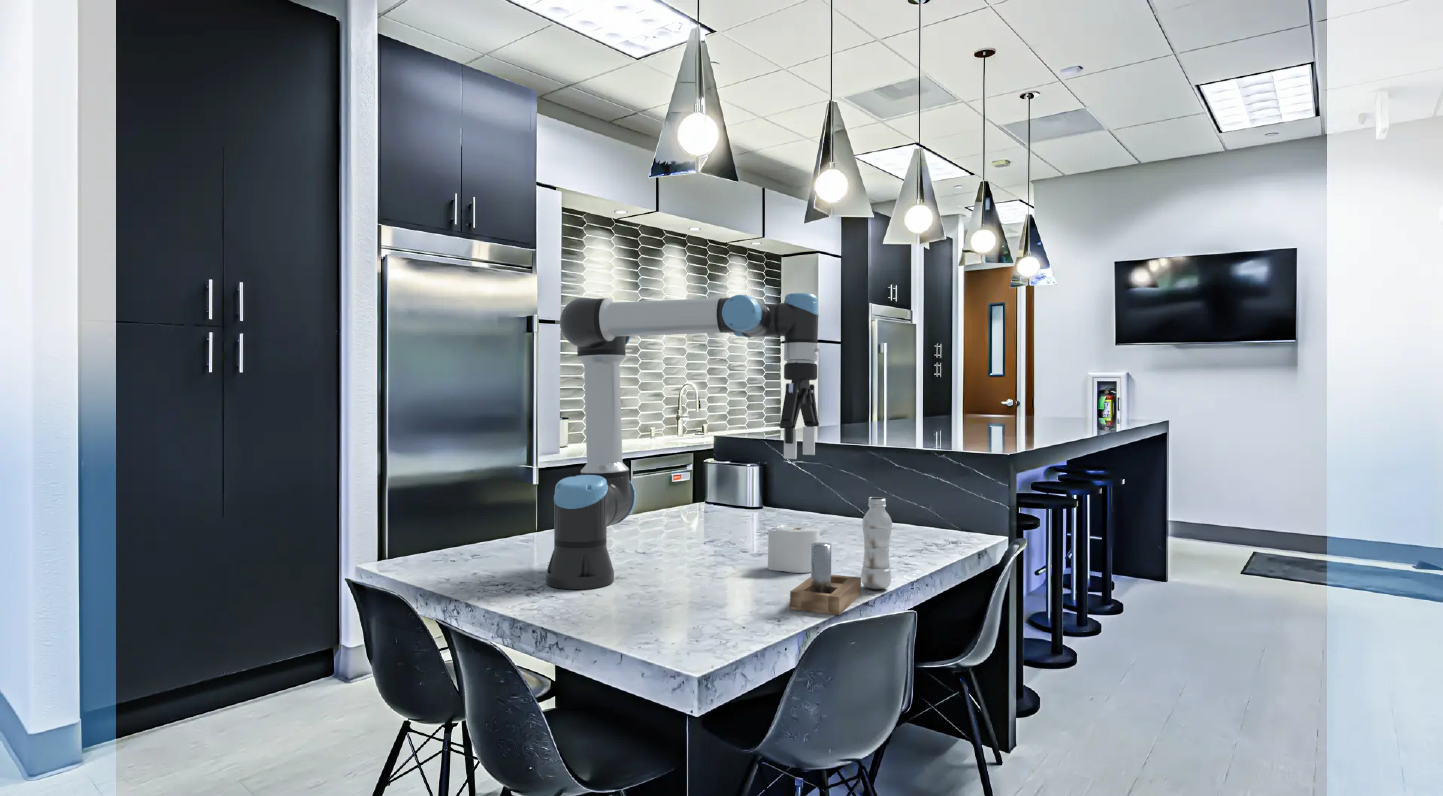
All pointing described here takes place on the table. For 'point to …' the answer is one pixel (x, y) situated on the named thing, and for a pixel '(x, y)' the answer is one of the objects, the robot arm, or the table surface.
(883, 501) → the plastic bottle
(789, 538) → the toilet tissue
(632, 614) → the table surface
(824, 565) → the pin
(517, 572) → the table surface
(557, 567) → the robot arm
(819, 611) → the block
